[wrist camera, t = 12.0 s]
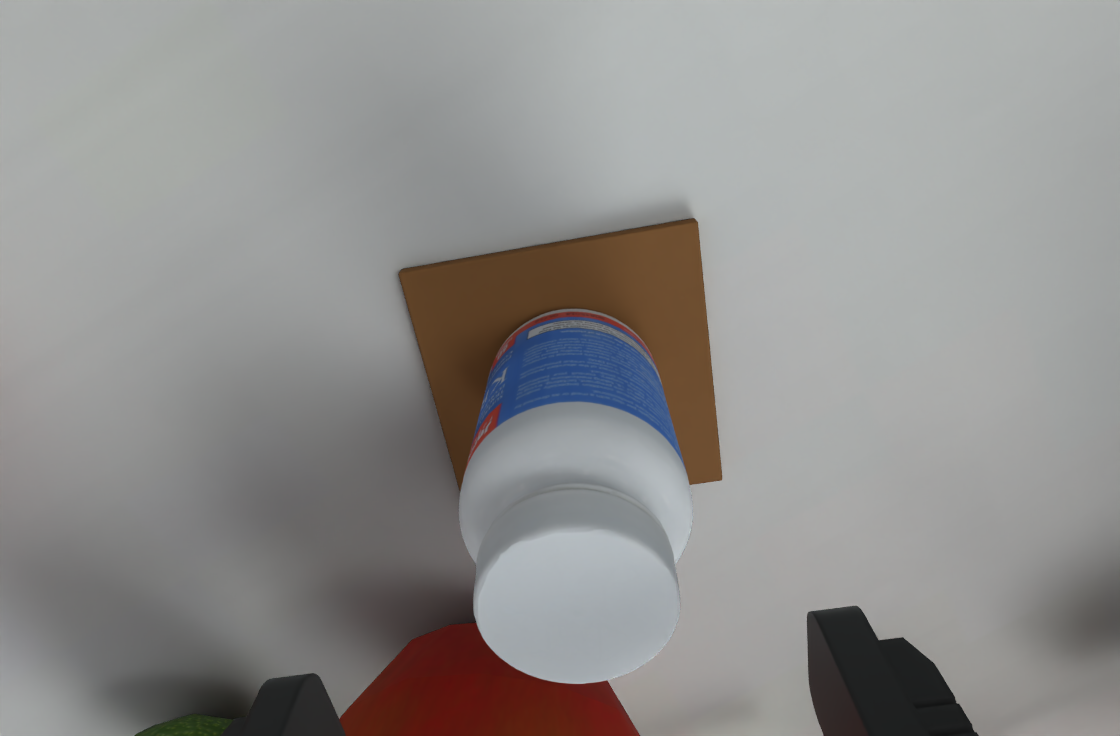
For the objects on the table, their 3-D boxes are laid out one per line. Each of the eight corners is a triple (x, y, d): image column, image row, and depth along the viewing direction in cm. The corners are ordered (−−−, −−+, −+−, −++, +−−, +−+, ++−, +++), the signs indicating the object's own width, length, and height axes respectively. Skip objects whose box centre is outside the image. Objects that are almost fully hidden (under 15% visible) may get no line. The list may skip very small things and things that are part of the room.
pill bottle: (481, 307, 21) (415, 490, 12) (658, 300, 20) (728, 479, 12) (496, 461, 23) (451, 712, 14) (656, 455, 23) (713, 706, 14)
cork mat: (401, 268, 21) (397, 273, 20) (695, 217, 20) (698, 220, 19) (468, 508, 24) (466, 517, 24) (719, 472, 24) (722, 480, 23)
